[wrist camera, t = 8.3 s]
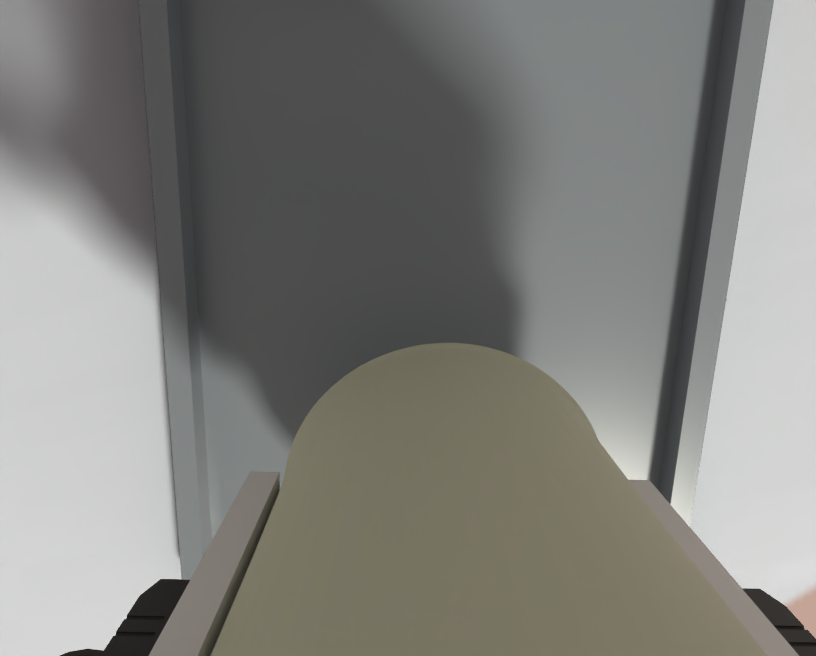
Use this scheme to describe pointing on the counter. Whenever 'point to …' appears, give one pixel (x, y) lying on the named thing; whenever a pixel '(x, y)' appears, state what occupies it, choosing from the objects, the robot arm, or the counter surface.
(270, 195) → the tray
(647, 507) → the can
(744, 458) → the counter surface
